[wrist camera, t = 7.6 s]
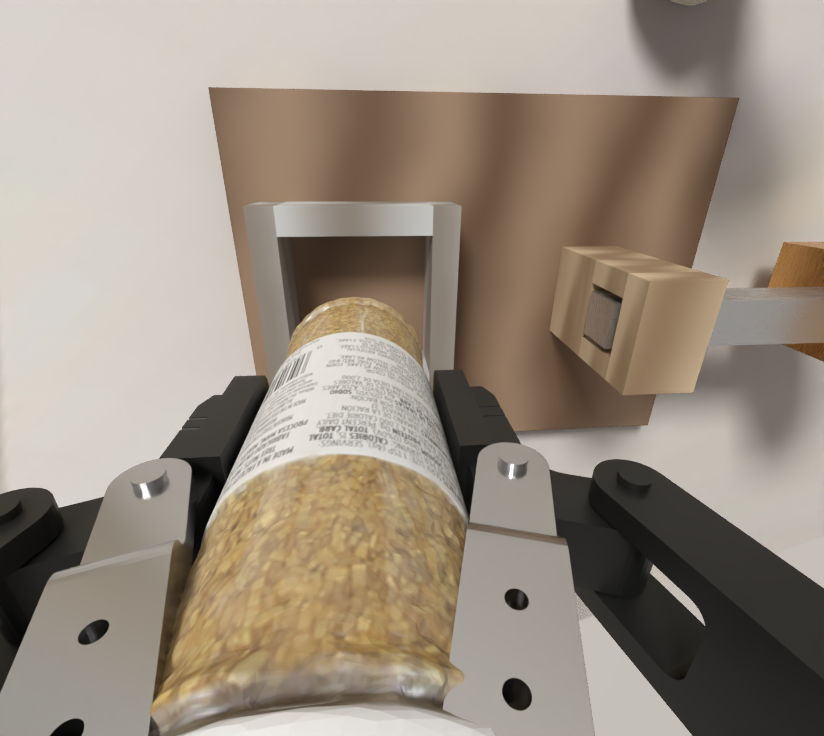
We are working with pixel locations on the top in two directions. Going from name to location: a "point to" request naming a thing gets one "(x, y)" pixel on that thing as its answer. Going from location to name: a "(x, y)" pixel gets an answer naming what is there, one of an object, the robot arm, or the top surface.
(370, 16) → the top surface
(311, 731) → the spice jar
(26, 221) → the top surface
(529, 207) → the socket base
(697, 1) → the valve
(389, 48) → the top surface
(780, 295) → the bar
